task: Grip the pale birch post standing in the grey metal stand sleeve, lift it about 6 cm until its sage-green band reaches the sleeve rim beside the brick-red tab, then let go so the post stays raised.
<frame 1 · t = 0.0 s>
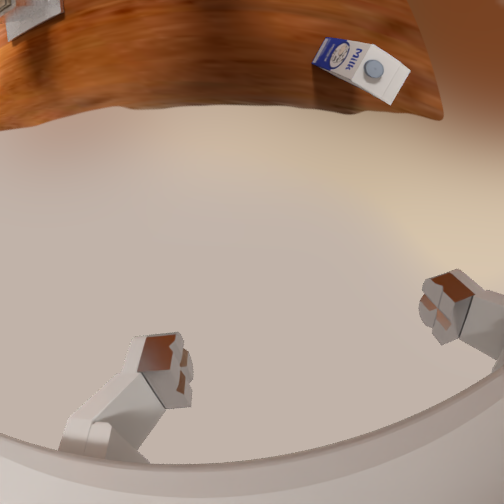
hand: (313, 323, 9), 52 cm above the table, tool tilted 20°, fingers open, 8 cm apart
post: (5, 0, 16), point 11 cm above the table, slide at 0.0 cm
milk carton: (332, 57, 45), on the table
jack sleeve: (33, 0, 23), on the table
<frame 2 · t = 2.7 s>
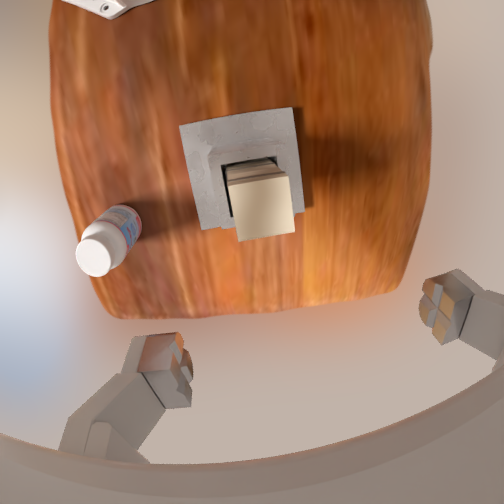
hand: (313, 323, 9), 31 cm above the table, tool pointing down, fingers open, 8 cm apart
pill bottle: (123, 222, 38), on the table
post: (251, 183, 27), point 11 cm above the table, slide at 0.0 cm
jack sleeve: (244, 167, 36), on the table
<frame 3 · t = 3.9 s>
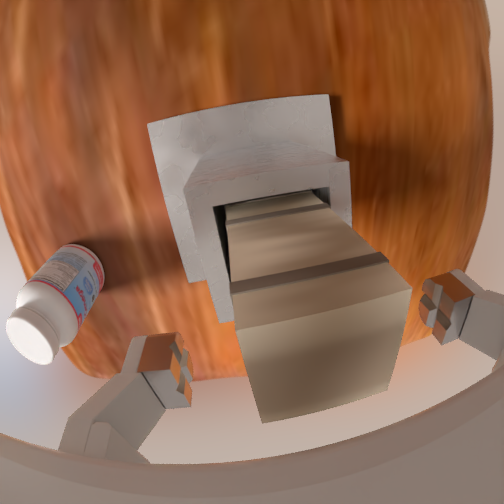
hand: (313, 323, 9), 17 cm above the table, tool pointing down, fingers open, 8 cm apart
pill bottle: (80, 267, 25), on the table
post: (273, 236, 14), point 11 cm above the table, slide at 0.0 cm
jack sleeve: (251, 187, 24), on the table
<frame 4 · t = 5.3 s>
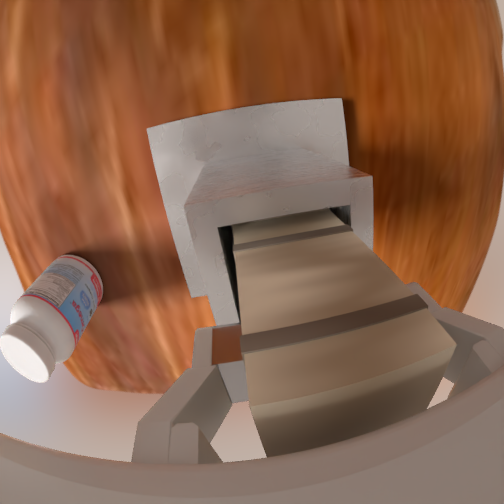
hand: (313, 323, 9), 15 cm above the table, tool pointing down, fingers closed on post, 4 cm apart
pill bottle: (78, 279, 24), on the table
post: (285, 257, 13), point 10 cm above the table, slide at 0.0 cm, touching gripper
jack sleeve: (259, 197, 22), on the table
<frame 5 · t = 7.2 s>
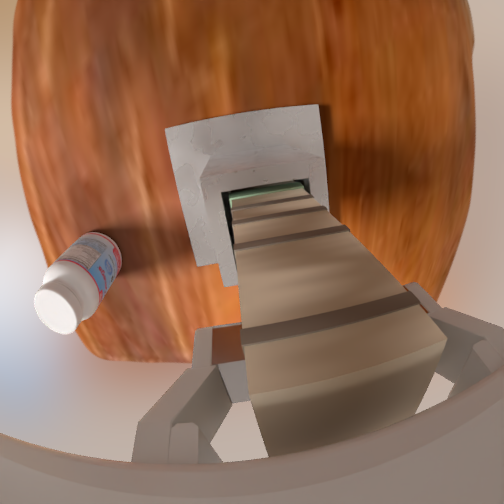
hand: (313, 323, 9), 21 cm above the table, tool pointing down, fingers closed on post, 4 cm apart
pill bottle: (99, 253, 29), on the table
post: (285, 257, 13), point 16 cm above the table, slide at 5.6 cm, touching gripper
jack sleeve: (253, 183, 27), on the table
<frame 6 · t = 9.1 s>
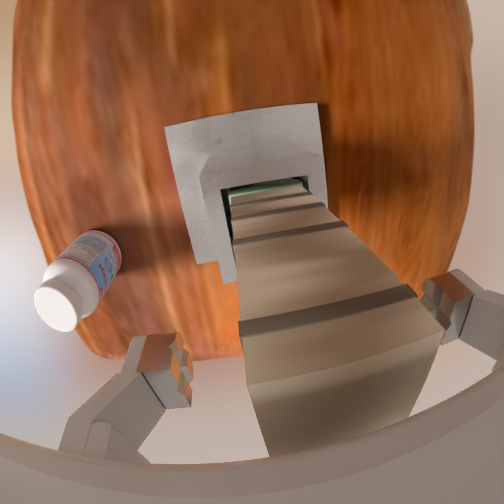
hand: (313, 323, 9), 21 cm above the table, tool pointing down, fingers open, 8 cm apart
pill bottle: (99, 252, 29), on the table
post: (283, 253, 13), point 16 cm above the table, slide at 5.6 cm
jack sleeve: (252, 181, 28), on the table
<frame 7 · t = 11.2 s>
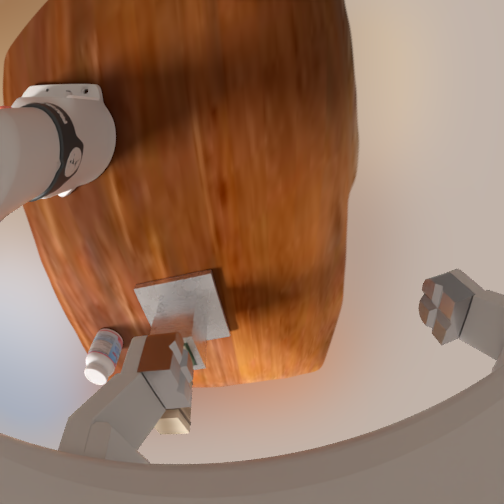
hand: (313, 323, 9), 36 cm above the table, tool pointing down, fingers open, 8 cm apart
pill bottle: (110, 337, 53), on the table
post: (174, 376, 36), point 16 cm above the table, slide at 5.6 cm
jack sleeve: (184, 309, 51), on the table
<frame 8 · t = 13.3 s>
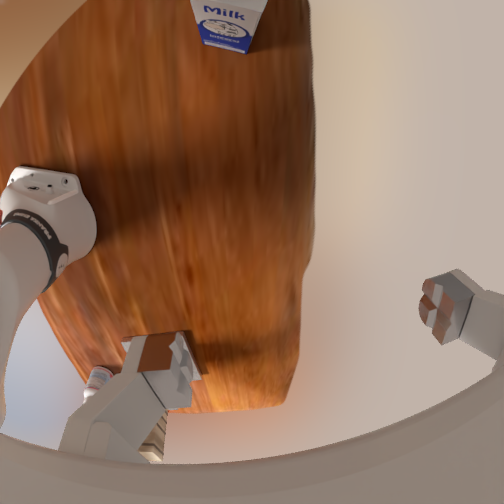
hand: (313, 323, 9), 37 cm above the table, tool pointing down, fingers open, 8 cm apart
pill bottle: (103, 372, 60), on the table
post: (152, 417, 43), point 16 cm above the table, slide at 5.6 cm
milk carton: (231, 31, 33), on the table
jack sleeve: (162, 357, 58), on the table
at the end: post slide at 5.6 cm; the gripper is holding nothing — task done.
